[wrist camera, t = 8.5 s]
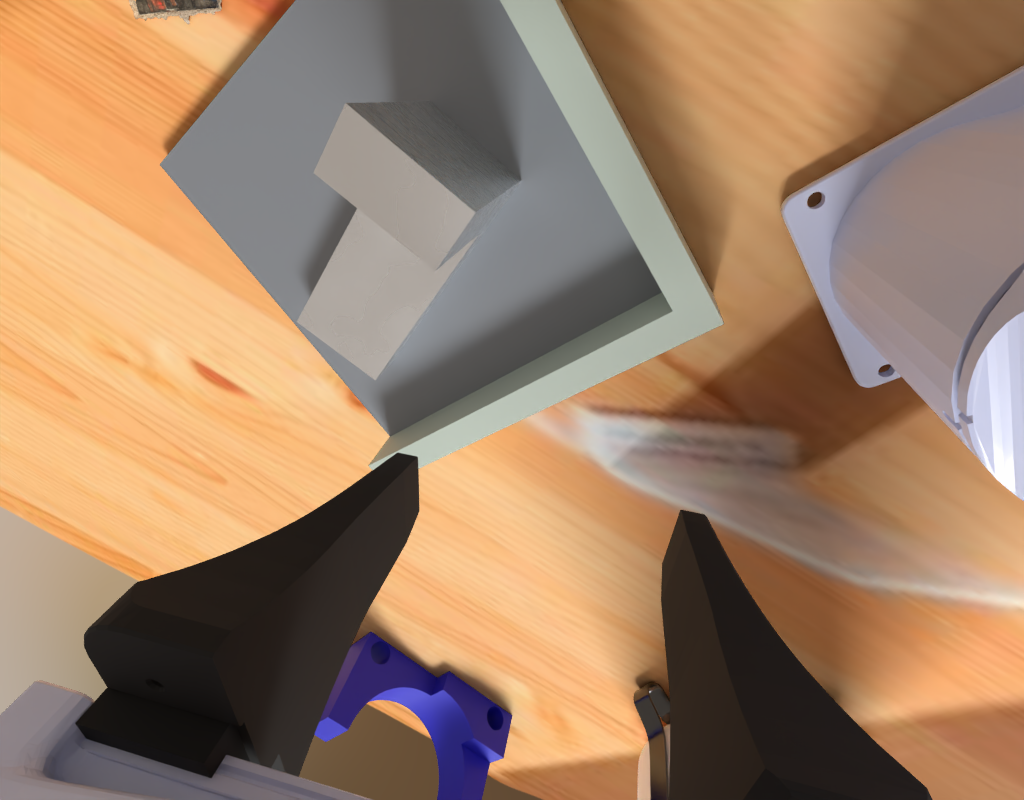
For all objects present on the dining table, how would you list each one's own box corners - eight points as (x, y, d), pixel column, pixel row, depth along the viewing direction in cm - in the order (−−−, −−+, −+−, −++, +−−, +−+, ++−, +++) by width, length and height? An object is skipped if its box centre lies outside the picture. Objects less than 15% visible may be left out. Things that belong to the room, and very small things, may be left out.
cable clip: (512, 713, 37) (492, 809, 32) (475, 729, 40) (451, 821, 35) (383, 621, 35) (339, 710, 30) (351, 644, 37) (306, 729, 32)
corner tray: (464, -186, 14) (425, -247, 12) (713, 294, 19) (723, 323, 17) (171, 163, 21) (107, 171, 19) (409, 447, 26) (385, 484, 24)
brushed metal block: (430, 101, 17) (345, 102, 12) (521, 180, 18) (475, 212, 13) (315, 309, 23) (222, 370, 18) (389, 365, 23) (320, 439, 18)
